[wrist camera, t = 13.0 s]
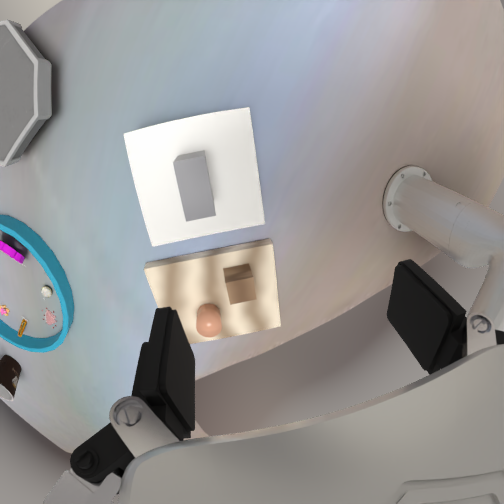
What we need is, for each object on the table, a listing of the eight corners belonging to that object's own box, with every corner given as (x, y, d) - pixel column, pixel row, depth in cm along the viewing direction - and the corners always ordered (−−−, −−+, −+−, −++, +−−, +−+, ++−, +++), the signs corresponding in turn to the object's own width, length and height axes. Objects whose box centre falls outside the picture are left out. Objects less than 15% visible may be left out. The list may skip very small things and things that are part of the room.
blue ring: (81, 241, 39) (67, 259, 34) (74, 357, 49) (67, 376, 44) (-34, 196, 29) (-52, 206, 24) (-22, 311, 40) (-33, 326, 34)
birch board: (269, 238, 44) (272, 243, 42) (278, 319, 52) (280, 326, 50) (145, 262, 42) (143, 269, 40) (175, 338, 50) (174, 346, 48)
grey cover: (239, 109, 34) (258, 104, 23) (253, 204, 41) (274, 241, 29) (139, 130, 33) (109, 137, 22) (160, 223, 40) (145, 267, 28)
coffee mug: (23, 378, 50) (13, 404, 41) (0, 362, 47) (-12, 387, 38) (26, 359, 47) (14, 388, 39) (1, 341, 44) (-14, 368, 35)
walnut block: (248, 263, 43) (253, 277, 39) (252, 284, 45) (256, 299, 41) (223, 268, 42) (225, 282, 39) (227, 289, 44) (230, 304, 41)
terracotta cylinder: (219, 323, 47) (221, 337, 43) (196, 323, 46) (196, 337, 42) (220, 303, 45) (222, 317, 42) (196, 303, 45) (196, 316, 41)
